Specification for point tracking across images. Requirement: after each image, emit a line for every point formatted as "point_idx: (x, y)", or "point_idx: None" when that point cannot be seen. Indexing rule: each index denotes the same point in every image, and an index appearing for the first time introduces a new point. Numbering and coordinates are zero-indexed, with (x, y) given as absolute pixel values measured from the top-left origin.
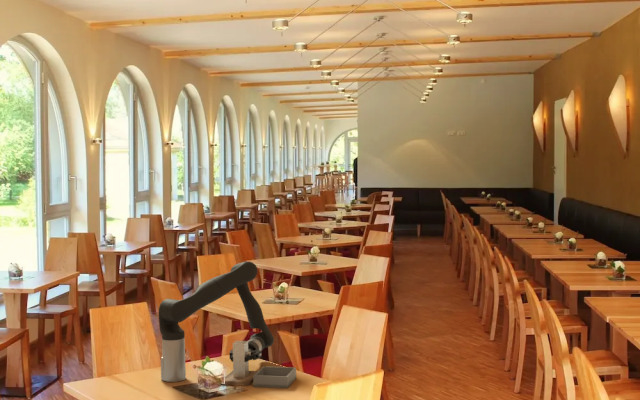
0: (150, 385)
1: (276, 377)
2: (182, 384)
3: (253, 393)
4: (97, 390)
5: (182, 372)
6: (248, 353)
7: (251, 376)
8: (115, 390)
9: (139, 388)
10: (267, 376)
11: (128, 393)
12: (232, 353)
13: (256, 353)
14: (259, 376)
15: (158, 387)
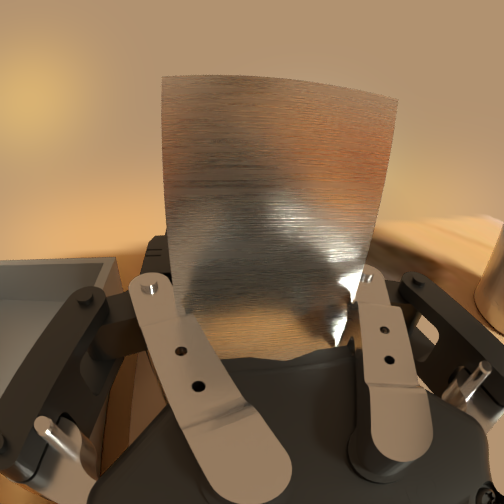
0: (482, 259)
1: (14, 263)
2: (439, 282)
3: (120, 256)
4: (499, 228)
5: (490, 280)
6: (174, 309)
7: (160, 393)
8: (484, 230)
9: (473, 242)
10: (47, 260)
11: (452, 222)
12: (419, 309)
13: (53, 321)
14: (84, 261)
15: (455, 252)
